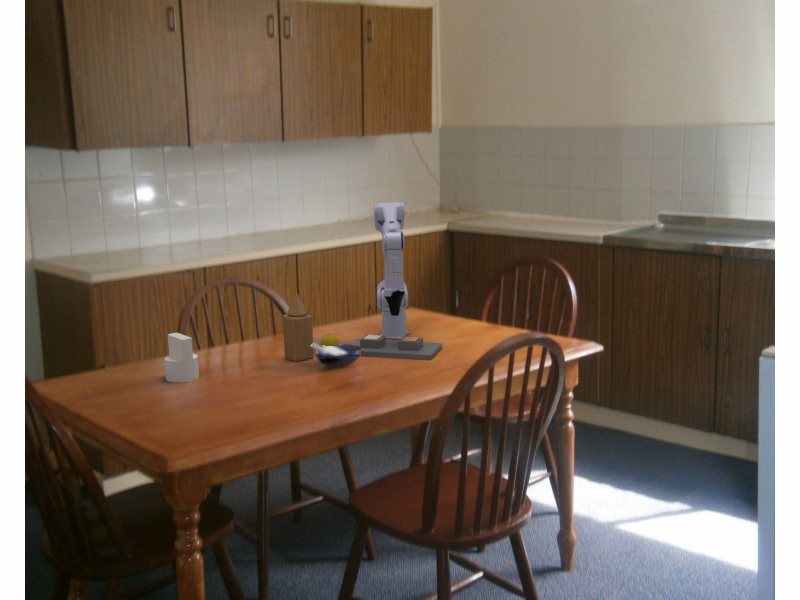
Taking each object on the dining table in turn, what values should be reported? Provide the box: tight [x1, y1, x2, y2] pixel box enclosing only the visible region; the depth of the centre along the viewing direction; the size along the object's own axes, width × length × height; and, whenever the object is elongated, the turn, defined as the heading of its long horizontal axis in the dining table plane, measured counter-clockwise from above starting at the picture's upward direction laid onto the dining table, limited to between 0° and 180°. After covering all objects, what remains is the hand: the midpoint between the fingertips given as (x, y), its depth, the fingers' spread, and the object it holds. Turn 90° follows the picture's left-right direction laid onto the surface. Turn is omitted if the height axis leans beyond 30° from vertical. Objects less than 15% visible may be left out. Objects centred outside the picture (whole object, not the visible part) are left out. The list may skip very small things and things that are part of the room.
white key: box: [364, 334, 382, 340], centre depth 278 cm, size 4×4×2 cm
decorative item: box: [282, 292, 315, 362], centre depth 270 cm, size 7×7×20 cm
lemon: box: [320, 333, 340, 347], centre depth 268 cm, size 6×6×8 cm
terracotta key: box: [402, 336, 421, 342], centre depth 274 cm, size 4×4×2 cm
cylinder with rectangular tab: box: [164, 332, 200, 383], centre depth 253 cm, size 9×9×12 cm
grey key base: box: [348, 334, 443, 361], centre depth 276 cm, size 14×28×4 cm, turn 73°
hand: (394, 315), depth 278 cm, fingers closed
